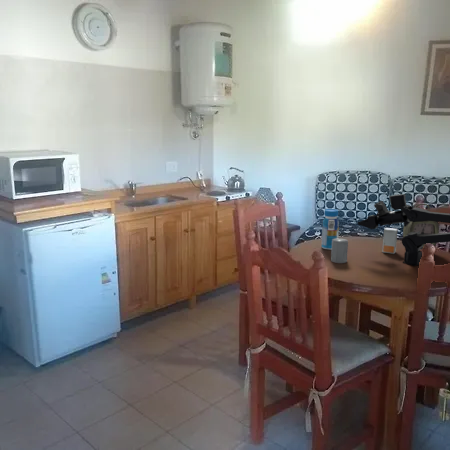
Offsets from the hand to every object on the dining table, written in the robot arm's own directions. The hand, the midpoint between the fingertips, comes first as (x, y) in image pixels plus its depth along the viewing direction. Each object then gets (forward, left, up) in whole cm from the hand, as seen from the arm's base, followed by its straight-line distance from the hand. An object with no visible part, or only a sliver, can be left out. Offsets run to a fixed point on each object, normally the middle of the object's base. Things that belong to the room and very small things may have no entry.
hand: (361, 221), depth 225 cm
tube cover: (-2, +17, -16) cm, 24 cm away
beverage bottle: (+17, +3, -16) cm, 24 cm away
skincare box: (-6, -15, -16) cm, 23 cm away
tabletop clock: (-15, -26, -16) cm, 34 cm away
